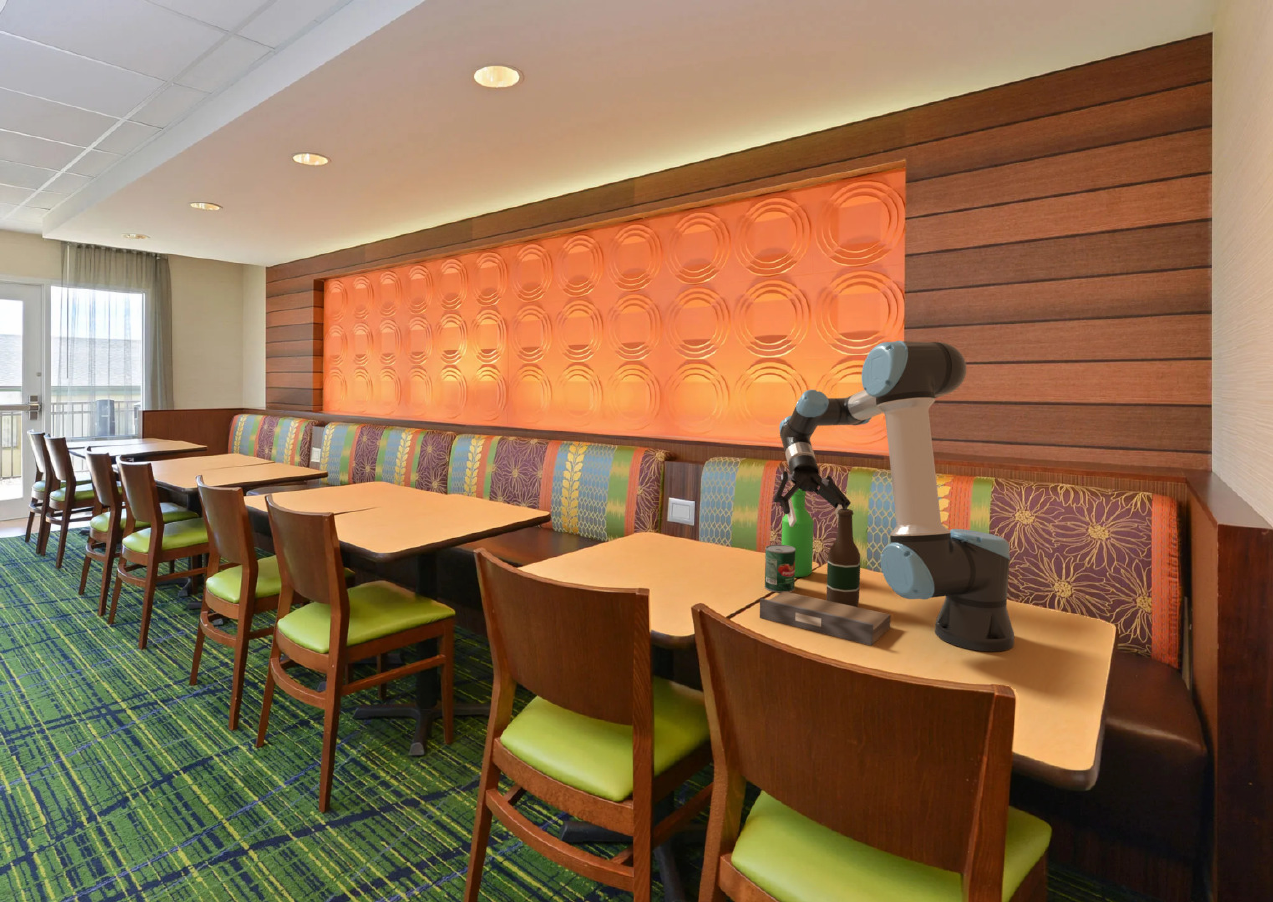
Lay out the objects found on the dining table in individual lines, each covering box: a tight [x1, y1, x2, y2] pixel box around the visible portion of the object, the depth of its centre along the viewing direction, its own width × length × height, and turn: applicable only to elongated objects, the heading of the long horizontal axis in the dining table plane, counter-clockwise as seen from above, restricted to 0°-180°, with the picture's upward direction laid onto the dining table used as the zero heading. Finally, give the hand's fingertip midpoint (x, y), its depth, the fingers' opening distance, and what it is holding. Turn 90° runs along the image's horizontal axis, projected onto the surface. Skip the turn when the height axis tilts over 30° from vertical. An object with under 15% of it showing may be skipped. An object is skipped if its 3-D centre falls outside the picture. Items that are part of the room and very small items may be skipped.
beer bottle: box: [826, 508, 861, 607], centre depth 159 cm, size 8×8×24 cm
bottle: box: [781, 489, 814, 578], centre depth 184 cm, size 9×9×25 cm
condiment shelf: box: [759, 591, 892, 646], centre depth 148 cm, size 26×13×4 cm, turn 52°
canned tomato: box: [764, 544, 796, 594], centre depth 172 cm, size 8×8×11 cm
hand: (818, 526), depth 161 cm, fingers open, 13 cm apart
